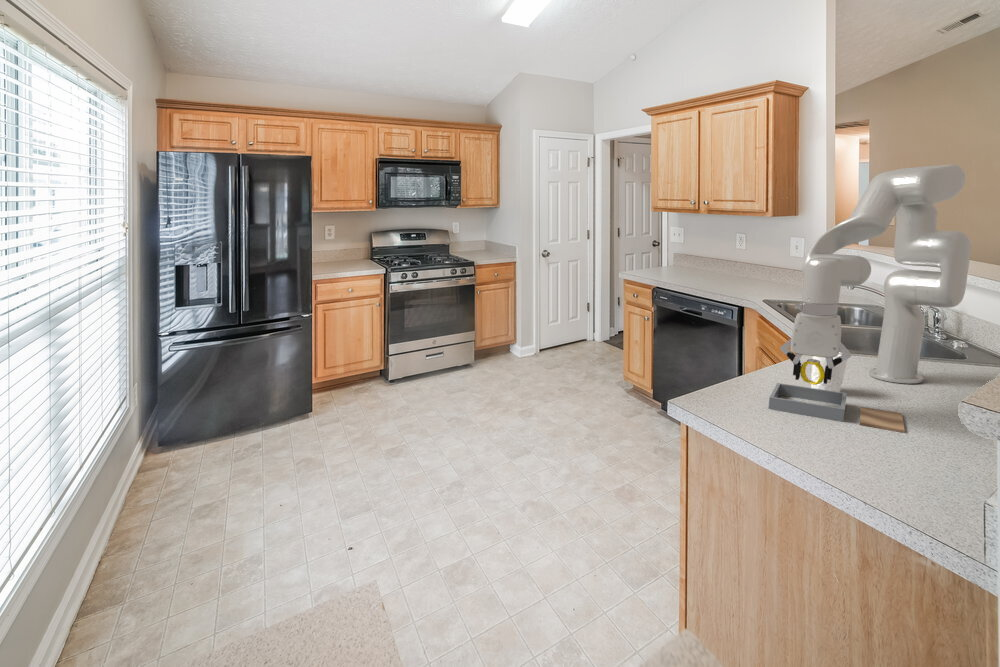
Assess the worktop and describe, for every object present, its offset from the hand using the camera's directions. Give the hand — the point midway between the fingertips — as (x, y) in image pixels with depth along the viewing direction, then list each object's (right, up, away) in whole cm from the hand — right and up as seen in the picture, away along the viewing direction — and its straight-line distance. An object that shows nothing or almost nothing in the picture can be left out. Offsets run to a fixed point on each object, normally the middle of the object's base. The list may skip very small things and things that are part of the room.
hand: (811, 379), depth 126 cm
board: (+11, -9, -8) cm, 16 cm away
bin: (0, -7, +1) cm, 7 cm away
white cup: (+11, -4, +12) cm, 17 cm away
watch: (0, -1, 0) cm, 1 cm away
